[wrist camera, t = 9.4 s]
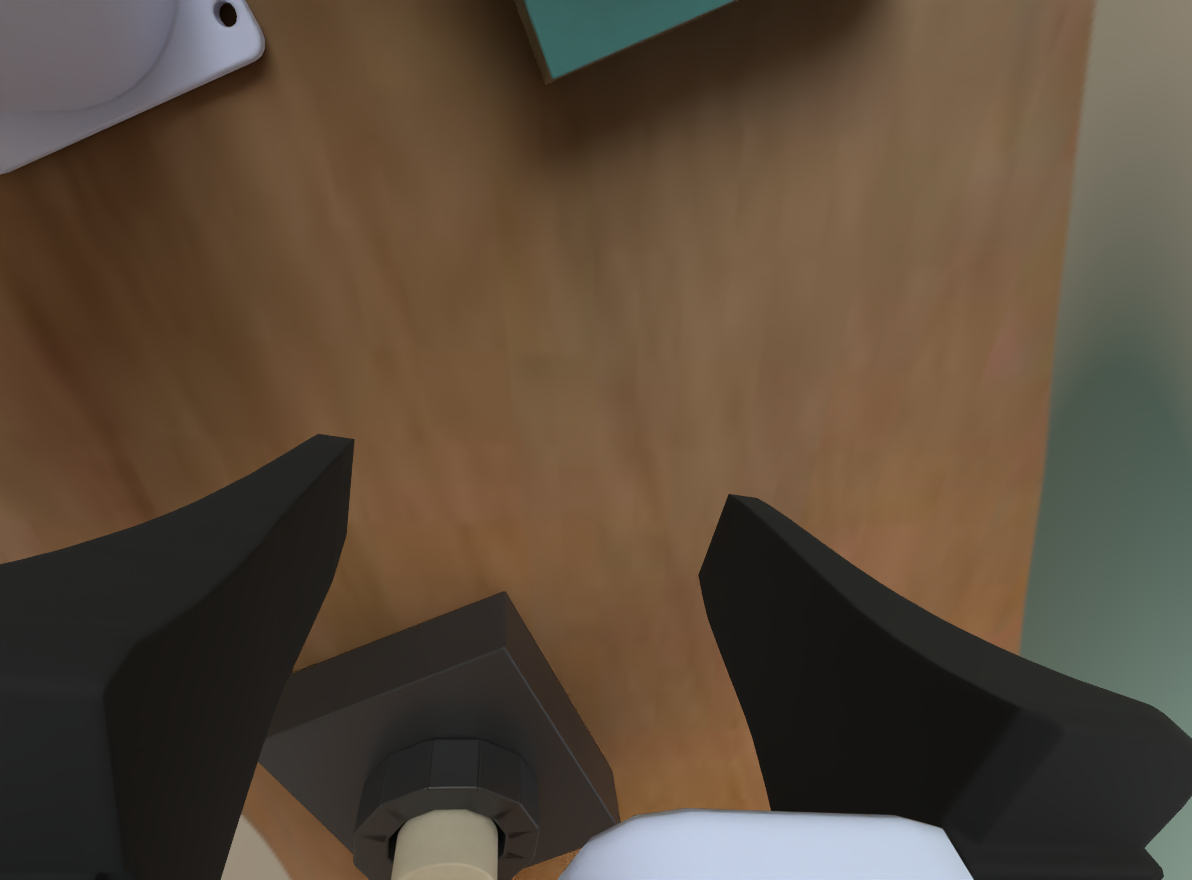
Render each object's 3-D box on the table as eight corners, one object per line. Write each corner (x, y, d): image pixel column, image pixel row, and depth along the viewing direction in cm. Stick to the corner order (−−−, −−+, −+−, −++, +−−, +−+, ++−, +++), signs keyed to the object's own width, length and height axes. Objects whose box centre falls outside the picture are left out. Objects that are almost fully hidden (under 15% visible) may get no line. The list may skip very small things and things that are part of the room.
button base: (270, 681, 25) (219, 802, 21) (505, 589, 24) (504, 694, 20) (418, 841, 31) (403, 964, 26) (612, 770, 30) (630, 883, 26)
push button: (378, 826, 23) (367, 887, 21) (471, 792, 23) (468, 851, 21) (426, 877, 24) (420, 938, 23) (513, 845, 24) (514, 904, 22)
